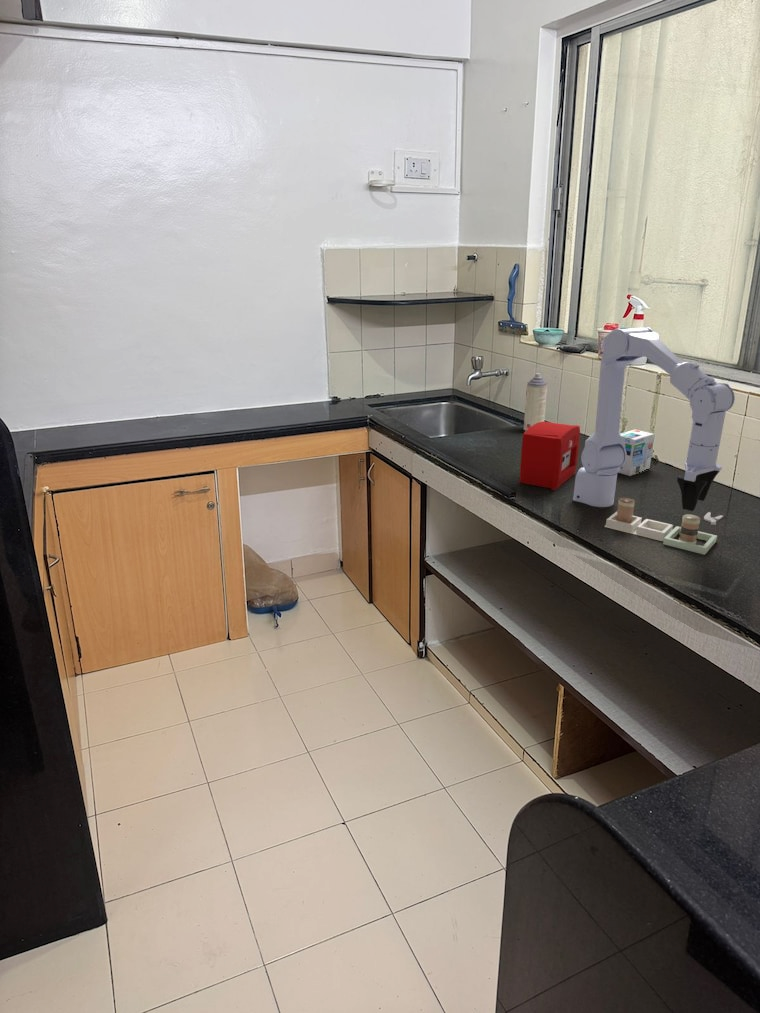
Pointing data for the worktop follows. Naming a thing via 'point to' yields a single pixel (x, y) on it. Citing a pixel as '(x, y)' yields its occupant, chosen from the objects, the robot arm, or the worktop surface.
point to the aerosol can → (535, 401)
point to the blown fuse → (689, 528)
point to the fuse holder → (641, 527)
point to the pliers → (711, 519)
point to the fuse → (625, 510)
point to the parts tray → (704, 549)
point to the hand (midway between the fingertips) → (693, 504)
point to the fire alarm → (549, 454)
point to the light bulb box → (637, 451)
